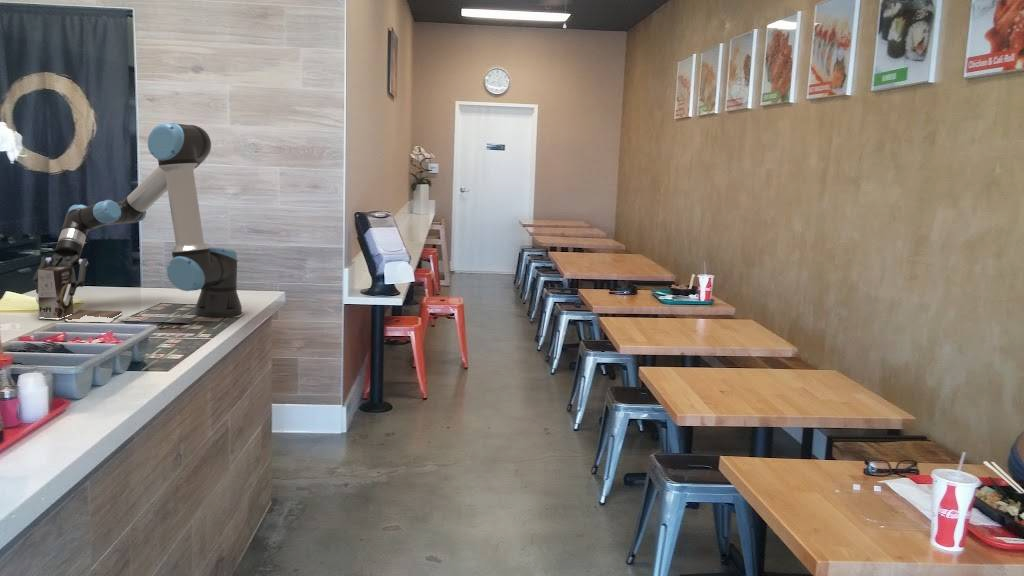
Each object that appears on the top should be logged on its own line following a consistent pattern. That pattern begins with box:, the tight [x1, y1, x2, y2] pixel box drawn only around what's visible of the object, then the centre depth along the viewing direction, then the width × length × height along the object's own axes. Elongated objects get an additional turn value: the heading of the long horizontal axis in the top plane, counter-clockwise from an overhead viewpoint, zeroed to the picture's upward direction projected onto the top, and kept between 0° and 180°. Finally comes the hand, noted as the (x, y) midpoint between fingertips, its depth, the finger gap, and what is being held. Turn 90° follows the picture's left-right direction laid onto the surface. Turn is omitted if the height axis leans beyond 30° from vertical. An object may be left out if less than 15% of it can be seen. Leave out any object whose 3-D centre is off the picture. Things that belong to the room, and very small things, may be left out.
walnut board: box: [64, 309, 123, 320], centre depth 245 cm, size 13×13×1 cm
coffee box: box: [37, 265, 74, 318], centre depth 242 cm, size 9×6×16 cm
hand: (52, 302), depth 239 cm, fingers closed on coffee box, 7 cm apart
